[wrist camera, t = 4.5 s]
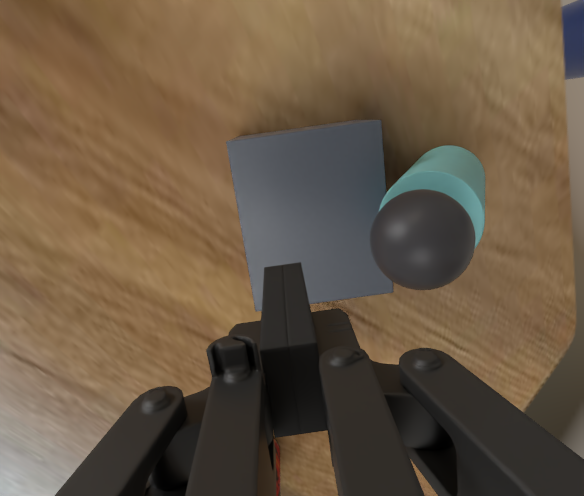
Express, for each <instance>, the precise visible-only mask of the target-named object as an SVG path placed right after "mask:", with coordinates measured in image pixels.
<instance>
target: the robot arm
mask: <svg viewBox="0 0 584 496" xmlns="http://www.w3.org/2000/svg"><path fill="white" fill-rule="evenodd" d="M206 351H207V356H208V360H209V365H210V370H211V374H212V381H211V385H210V387H208V388H206V389H205V390H203V391H200V392H198V393H195V394H192V395H189V396H187V397H183V393H182V390H180V389H179V388H177V387H172V386H164V387H157V388H155V389H154V388H153V389H151V390H149V391H147V392H145V393H143V394H142V395H140V396H139V397H138V398H137V399H135V400H134V401H133V402H132V403H131V405H130V406H129V407H128V408H127V409H126V411H125V412H124V413H123V414H122V415H121V417H120V418H119V419H118V420H117V422H116V423H115V424H114V425H113V426H112V428H111V429H110V430H109V431H108V432H107V434H106V435H105V436H104V437H103V438H102V440H101V441H100V442H99V443H98V444H97V446H96V447H95V448H94V449H93V450H92V452H91V453H90V454H89V455H88V456H87V458H86V459H85V460H84V461H83V462H82V464H81V465H80V466H79V467H78V468H77V470H76V471H75V472H74V473H73V474H72V476H71V477H70V478H69V479H68V480H67V482H66V483H65V484H64V485H63V486H62V488H61V489H60V490H59V491H58V492H57V494H56V495H55V496H276V449H275V444H274V438H273V430H274V435H275V438H276V437H283V436H290V435H297V434H304V433H311V432H318V431H325V430H328V435H329V443H330V451H331V458H332V466H333V467H334V472H335V478H336V484H337V489H338V495H339V496H424V493H423V491H422V488H421V486H420V483H419V481H418V478H417V476H416V473H415V471H414V468H413V466H412V463H411V461H410V459H411V460H412V461H413V463H414V464H415V465H416V467H417V468H418V469H419V471H420V472H421V473H422V475H423V476H424V477H425V479H426V480H427V481H428V483H429V484H430V485H431V487H432V488H433V489H434V490H435V492H436V493H437V494H438V496H584V459H582V458H581V457H580V456H579V455H577V454H576V453H575V452H573V451H572V450H571V449H570V448H568V447H567V446H566V445H564V444H563V443H562V442H560V441H559V440H558V439H557V438H555V437H554V436H553V435H551V434H550V433H549V432H547V431H546V430H545V429H544V428H542V427H541V426H540V425H539V424H537V423H536V422H535V421H533V420H532V419H531V418H530V417H528V416H527V415H526V414H524V413H523V412H522V411H521V410H519V409H518V408H517V407H515V406H514V405H513V404H511V403H510V402H509V401H508V400H506V399H505V398H504V397H502V396H501V395H500V394H499V393H497V392H496V391H495V390H493V389H492V388H491V387H489V386H488V385H487V384H486V383H484V382H483V381H482V380H480V379H479V378H478V377H477V376H475V375H474V374H473V373H471V372H470V371H469V370H467V369H466V368H465V367H464V366H462V365H461V364H460V363H458V362H457V361H456V360H455V359H453V358H452V357H451V356H449V355H448V354H446V353H444V352H442V351H439V350H435V349H431V348H419V349H413V350H410V351H408V352H406V353H404V354H403V355H402V356H401V357H400V359H399V365H393V364H382V363H378V362H374V361H372V360H370V359H369V356H368V354H367V353H366V352H365V351H364V350H362V349H360V346H359V344H358V341H357V338H356V336H355V333H354V331H353V328H352V325H351V323H350V320H349V318H348V315H347V314H346V313H345V312H343V311H342V310H340V309H339V308H338V309H331V310H324V311H317V312H311V310H310V305H309V300H308V295H307V290H306V285H305V280H304V275H303V270H302V265H301V262H299V263H292V264H285V265H278V266H270V267H264V281H263V299H262V316H261V321H255V322H248V323H240V324H236V325H235V326H234V327H233V329H232V330H231V331H230V332H229V336H225V337H222V338H220V339H218V340H216V341H214V342H213V343H212V344H210V345H209V347H208V348H207V350H206Z"/></svg>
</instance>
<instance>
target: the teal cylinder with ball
mask: <svg viewBox="0 0 584 496" xmlns="http://www.w3.org/2000/svg"><path fill="white" fill-rule="evenodd" d="M484 223H485V173H484V169H483V166H482V164H481V162H480V161H479V159H478V158H477V157H476V156H475V155H474V154H473V153H471V152H470V151H468V150H466V149H464V148H462V147H458V146H451V145H448V146H440V147H437V148H434V149H432V150H430V151H428V152H426V153H425V154H424V155H423V156H422V157H420V158H419V159H418V161H417V162H416V163H415V164H414V165H413V166H412V167H411V168H410V169H409V170H408V171H407V172H406V173H405V174H404V175H403V176H402V177H401V178H400V179H399V180H398V181H397V182H396V183H395V184H394V185H393V186H392V187H391V188H390V189H389V190H388V192H387V193H386V195H385V196H384V198H383V200H382V203H381V205H380V209H379V212H378V214H377V216H376V217H375V219H374V222H373V224H372V228H371V233H370V247H371V252H372V255H373V258H374V260H375V262H376V264H377V266H378V267H379V269H380V270H381V271H382V272H383V274H384V275H385V276H386V277H388V278H389V279H390V280H391V281H393V282H395V283H396V284H398V285H400V286H403V287H406V288H409V289H414V290H431V289H436V288H439V287H442V286H445V285H447V284H449V283H450V282H452V281H454V280H455V279H456V278H458V277H459V276H460V275H461V274H462V273H463V272H464V270H465V269H466V268H467V266H468V265H469V263H470V261H471V259H472V256H473V253H474V249H475V248H476V246H477V245H478V243H479V241H480V239H481V237H482V234H483V230H484Z"/></svg>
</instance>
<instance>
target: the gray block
mask: <svg viewBox="0 0 584 496" xmlns="http://www.w3.org/2000/svg"><path fill="white" fill-rule="evenodd" d="M226 144H227V149H228V155H229V161H230V167H231V172H232V178H233V184H234V190H235V195H236V201H237V207H238V213H239V218H240V224H241V230H242V235H243V241H244V247H245V253H246V258H247V264H248V270H249V276H250V281H251V287H252V293H253V299H254V304H255V310H256V311H262V299H263V281H264V267H270V266H278V265H285V264H292V263H299V262H301V265H302V270H303V275H304V280H305V285H306V290H307V295H308V300H309V304H313V303H320V302H328V301H335V300H342V299H349V298H356V297H363V296H371V295H378V294H385V293H392V292H393V281H391V280H390V279H389V278H388V277H386V276H385V275H384V274H383V272H382V271H381V270H380V269H379V267H378V266H377V264H376V262H375V260H374V258H373V255H372V252H371V247H370V233H371V228H372V224H373V222H374V219H375V217H376V216H377V214H378V212H379V209H380V205H381V203H382V200H383V198H384V196H385V195H386V181H385V167H384V153H383V139H382V125H381V120H351V121H344V122H337V123H330V124H323V125H316V126H308V127H301V128H294V129H287V130H280V131H273V132H266V133H259V134H252V135H245V136H238V137H236V138H234V139H231V140H229V141H227V142H226Z"/></svg>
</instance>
